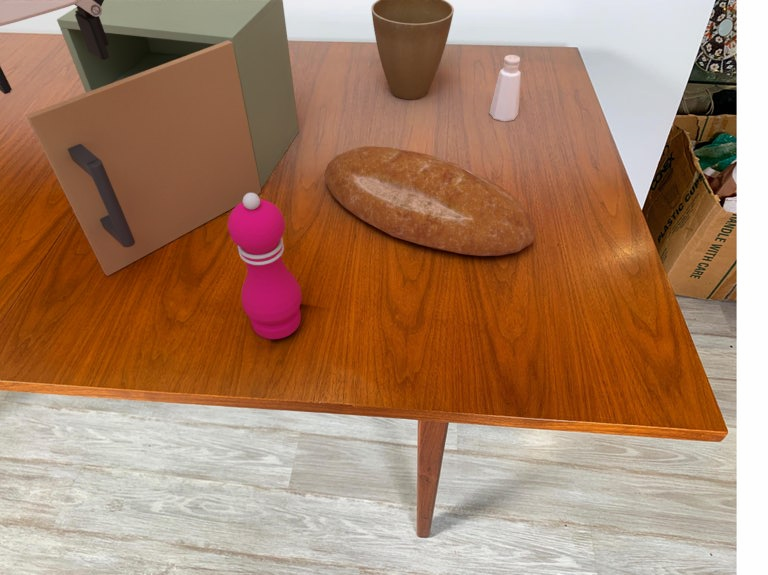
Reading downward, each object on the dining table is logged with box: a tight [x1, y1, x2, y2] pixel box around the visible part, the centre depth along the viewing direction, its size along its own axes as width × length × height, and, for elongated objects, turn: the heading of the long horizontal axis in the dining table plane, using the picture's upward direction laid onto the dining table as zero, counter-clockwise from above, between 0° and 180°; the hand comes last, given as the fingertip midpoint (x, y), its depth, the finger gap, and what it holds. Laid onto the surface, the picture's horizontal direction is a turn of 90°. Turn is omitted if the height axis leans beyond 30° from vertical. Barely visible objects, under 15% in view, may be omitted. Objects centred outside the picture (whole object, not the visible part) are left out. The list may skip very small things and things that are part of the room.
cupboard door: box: [25, 40, 262, 277], centre depth 76 cm, size 7×26×24 cm, turn 136°
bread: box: [323, 145, 536, 257], centre depth 86 cm, size 18×35×9 cm, turn 57°
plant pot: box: [370, 0, 455, 100], centre depth 110 cm, size 15×15×16 cm
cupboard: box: [56, 0, 300, 190], centre depth 93 cm, size 18×26×24 cm
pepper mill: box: [227, 193, 302, 340], centre depth 67 cm, size 7×7×20 cm
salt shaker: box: [488, 54, 522, 122], centre depth 106 cm, size 5×5×11 cm
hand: (53, 71), depth 57 cm, fingers open, 9 cm apart
